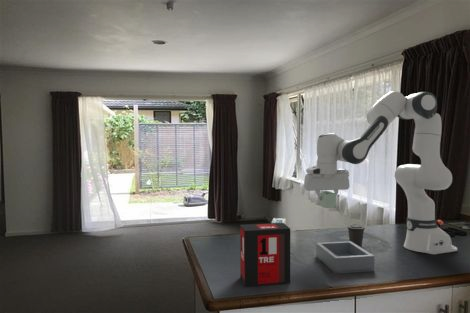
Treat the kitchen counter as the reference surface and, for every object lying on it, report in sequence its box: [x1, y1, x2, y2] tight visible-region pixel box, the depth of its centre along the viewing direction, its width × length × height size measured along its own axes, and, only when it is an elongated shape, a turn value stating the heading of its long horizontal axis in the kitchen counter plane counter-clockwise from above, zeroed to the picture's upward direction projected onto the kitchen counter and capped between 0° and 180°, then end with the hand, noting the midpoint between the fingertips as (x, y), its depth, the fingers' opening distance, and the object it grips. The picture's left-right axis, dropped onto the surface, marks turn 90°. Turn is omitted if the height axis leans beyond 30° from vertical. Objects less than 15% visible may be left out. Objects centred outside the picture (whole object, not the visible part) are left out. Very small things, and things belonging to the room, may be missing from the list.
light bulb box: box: [270, 217, 287, 226], centre depth 180 cm, size 11×7×11 cm, turn 168°
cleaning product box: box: [239, 222, 291, 288], centre depth 131 cm, size 16×9×20 cm, turn 99°
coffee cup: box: [347, 223, 366, 248], centre depth 171 cm, size 8×8×10 cm
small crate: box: [317, 190, 337, 209], centre depth 162 cm, size 5×9×6 cm, turn 7°
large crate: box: [315, 240, 375, 274], centre depth 148 cm, size 16×20×6 cm
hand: (326, 200), depth 162 cm, fingers closed on small crate, 5 cm apart
